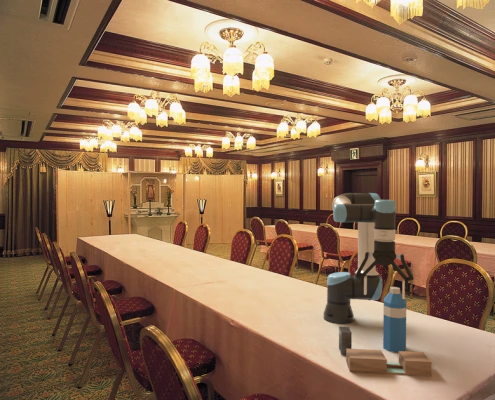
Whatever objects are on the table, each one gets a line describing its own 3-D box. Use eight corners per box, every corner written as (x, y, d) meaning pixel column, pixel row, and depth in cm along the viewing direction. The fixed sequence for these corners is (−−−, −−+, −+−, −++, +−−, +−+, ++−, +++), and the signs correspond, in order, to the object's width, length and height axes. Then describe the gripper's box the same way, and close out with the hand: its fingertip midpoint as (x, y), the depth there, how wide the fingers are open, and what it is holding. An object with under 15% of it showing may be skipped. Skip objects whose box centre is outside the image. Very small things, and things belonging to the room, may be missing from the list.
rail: (346, 361, 138) (346, 348, 138) (422, 365, 135) (423, 352, 135) (349, 371, 130) (349, 357, 130) (431, 376, 127) (431, 362, 127)
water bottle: (400, 343, 155) (400, 285, 155) (410, 352, 146) (411, 291, 146) (378, 343, 155) (379, 285, 155) (388, 353, 146) (388, 291, 145)
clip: (338, 348, 150) (339, 326, 150) (348, 348, 150) (348, 326, 150) (341, 354, 144) (341, 332, 144) (351, 355, 143) (351, 332, 143)
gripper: (349, 239, 139) (348, 294, 139) (421, 243, 129) (420, 302, 129) (352, 237, 146) (351, 289, 146) (420, 241, 136) (420, 297, 136)
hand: (384, 296), depth 138 cm, fingers open, 13 cm apart
